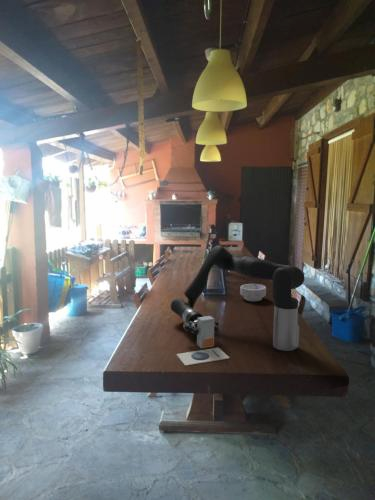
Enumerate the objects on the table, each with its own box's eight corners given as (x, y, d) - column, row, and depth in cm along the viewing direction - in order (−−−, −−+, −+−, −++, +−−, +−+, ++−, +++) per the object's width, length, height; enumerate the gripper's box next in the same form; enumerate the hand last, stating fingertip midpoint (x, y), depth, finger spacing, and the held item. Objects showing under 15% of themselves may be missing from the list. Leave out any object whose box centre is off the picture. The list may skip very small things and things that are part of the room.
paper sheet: (218, 348, 149) (218, 347, 149) (229, 358, 139) (229, 357, 139) (176, 354, 143) (176, 353, 142) (185, 365, 133) (185, 364, 133)
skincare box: (201, 349, 148) (201, 320, 146) (196, 345, 152) (196, 317, 150) (214, 346, 150) (214, 318, 149) (209, 342, 154) (210, 315, 152)
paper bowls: (234, 299, 219) (235, 286, 218) (250, 294, 229) (250, 282, 228) (255, 304, 208) (255, 291, 206) (271, 299, 218) (271, 286, 217)
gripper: (177, 312, 160) (191, 324, 145) (207, 308, 165) (223, 320, 150) (178, 328, 161) (191, 342, 146) (207, 324, 166) (223, 337, 151)
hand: (207, 331), depth 148 cm, fingers open, 8 cm apart
